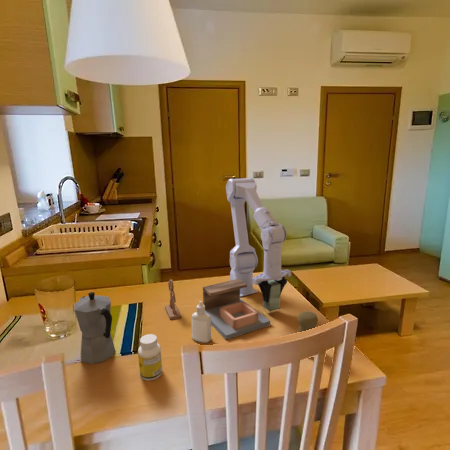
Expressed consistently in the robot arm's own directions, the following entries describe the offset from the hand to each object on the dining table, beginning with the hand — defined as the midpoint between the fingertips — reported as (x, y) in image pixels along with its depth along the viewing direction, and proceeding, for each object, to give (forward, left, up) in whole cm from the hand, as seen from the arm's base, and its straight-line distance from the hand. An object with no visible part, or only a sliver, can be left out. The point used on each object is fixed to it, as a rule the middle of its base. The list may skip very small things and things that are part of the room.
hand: (271, 299), depth 104 cm
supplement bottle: (+9, -44, -5) cm, 45 cm away
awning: (-9, -13, -3) cm, 16 cm away
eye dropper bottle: (+2, -27, -5) cm, 28 cm away
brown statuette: (-17, -29, -5) cm, 34 cm away
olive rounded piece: (+21, -4, -5) cm, 22 cm away
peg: (0, 0, -3) cm, 3 cm away
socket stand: (-3, -13, -5) cm, 14 cm away
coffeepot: (-5, -54, -5) cm, 54 cm away
